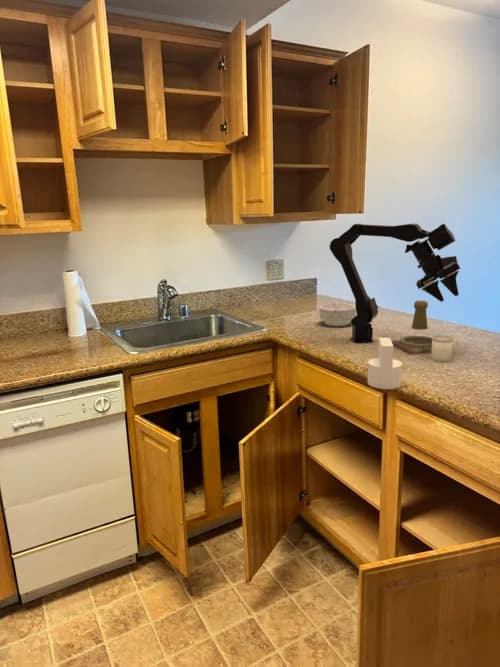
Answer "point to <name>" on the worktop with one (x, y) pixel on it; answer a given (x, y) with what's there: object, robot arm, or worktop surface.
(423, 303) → the brown pepper mill
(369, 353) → the worktop surface
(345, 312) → the white bowl
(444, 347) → the cap
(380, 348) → the cylinder with rectangular tab
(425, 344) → the collar base
